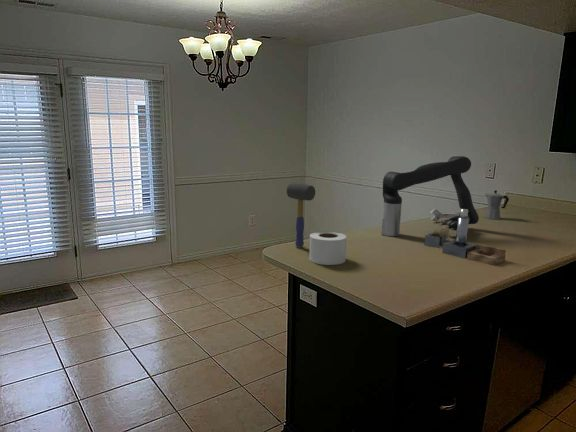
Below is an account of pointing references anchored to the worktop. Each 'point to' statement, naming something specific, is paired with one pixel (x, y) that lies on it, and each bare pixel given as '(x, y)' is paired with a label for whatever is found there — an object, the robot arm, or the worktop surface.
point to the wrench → (441, 215)
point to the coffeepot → (495, 205)
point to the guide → (435, 240)
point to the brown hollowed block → (487, 255)
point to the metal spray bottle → (462, 228)
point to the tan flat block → (441, 231)
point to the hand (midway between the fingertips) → (446, 227)
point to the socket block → (458, 249)
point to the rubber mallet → (300, 206)
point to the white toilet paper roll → (327, 248)
